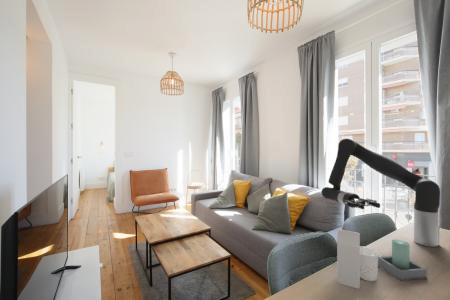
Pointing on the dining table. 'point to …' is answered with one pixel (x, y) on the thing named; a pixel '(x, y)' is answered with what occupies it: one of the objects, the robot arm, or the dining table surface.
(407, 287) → the dining table surface
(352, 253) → the milk carton
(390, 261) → the dish
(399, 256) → the mint green cylinder
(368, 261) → the white cup
